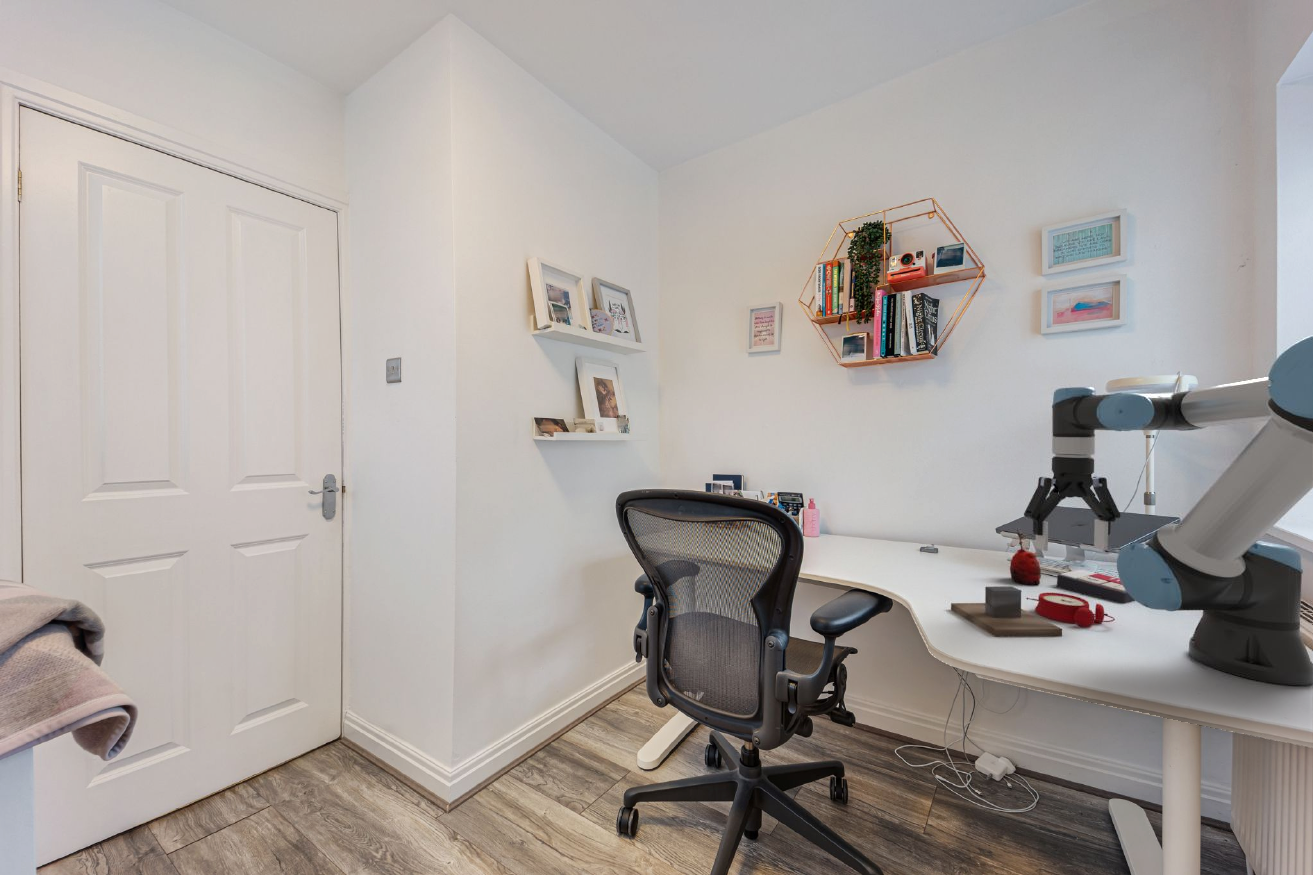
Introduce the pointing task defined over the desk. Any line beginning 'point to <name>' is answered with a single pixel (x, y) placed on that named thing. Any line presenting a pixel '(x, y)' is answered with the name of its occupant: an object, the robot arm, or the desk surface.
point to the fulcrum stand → (1005, 614)
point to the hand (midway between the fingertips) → (1071, 549)
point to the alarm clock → (1069, 609)
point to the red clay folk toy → (1025, 566)
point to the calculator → (1094, 585)
